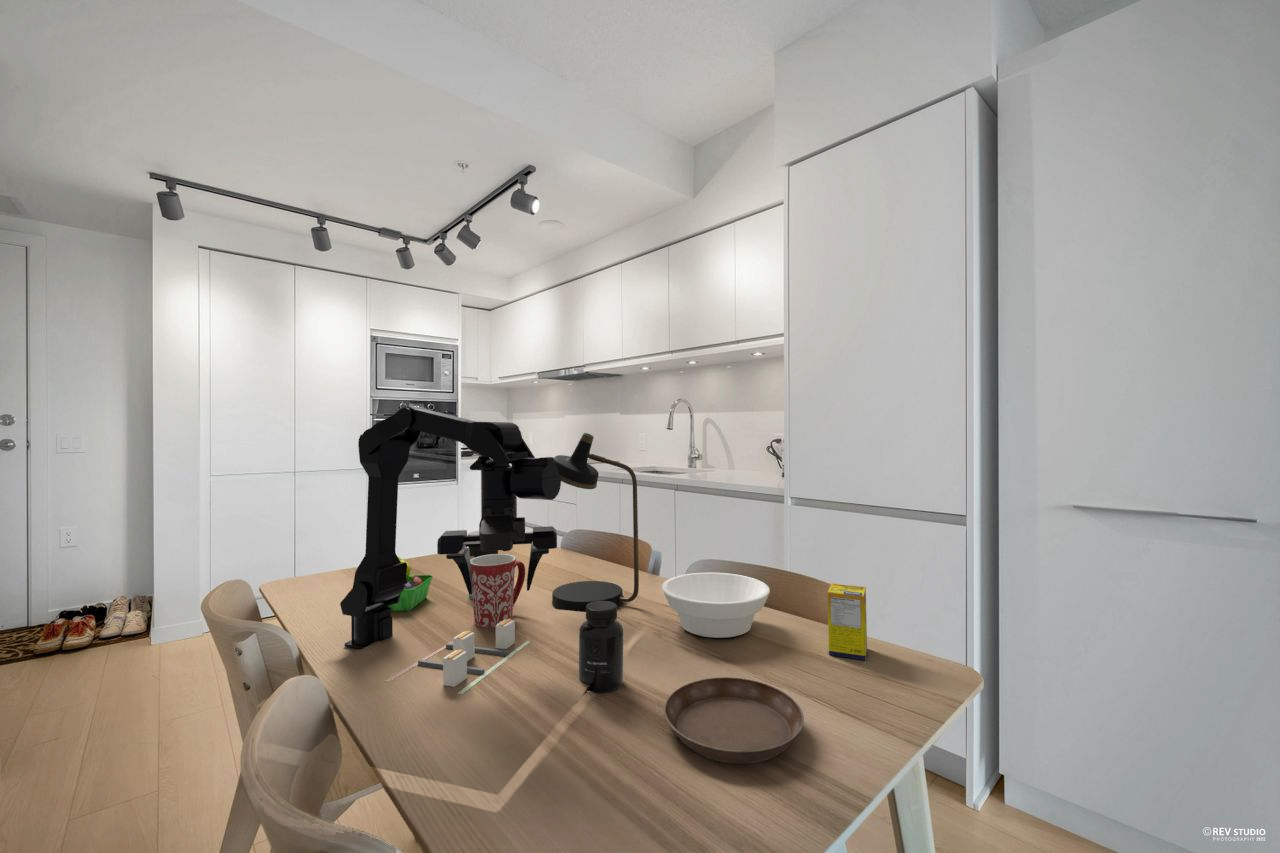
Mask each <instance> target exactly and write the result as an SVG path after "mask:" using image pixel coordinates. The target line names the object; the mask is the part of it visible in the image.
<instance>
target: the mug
mask: <svg viewBox="0 0 1280 853" xmlns="http://www.w3.org/2000/svg"><path fill="white" fill-rule="evenodd" d="M470 562H471V572H472V582H473V587H472V596H473V600H472V606H473V607H472V608H473V620H474V622H473V623H474V625H475V626H477V627H481V628H496V625H497V624H498V623H500V622H501V621H503V620H505V619H506V620H507V619H512V620H513V614H514V611H513V610H514V606H515V604H516V603H517V600H518V599H519V596H520V594H521V591H522V589H523V586H524V582H525V578H526V566H525V564H524V563H523V562H522V561H520V560H517V558H516V556H514V555H511V554H507V553H498V554H490V555H484V556H479V557H476V558H473V559H471V560H470ZM515 568H517V570H518V573H517V579H516V582H515V572H516V571H515Z"/></svg>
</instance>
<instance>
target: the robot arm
mask: <svg viewBox="0 0 1280 853" xmlns="http://www.w3.org/2000/svg"><path fill="white" fill-rule="evenodd" d="M423 433H425V434H428V435H432V436H435V437H436V436H437V437H438V438H439V437H440V438H443V439H448V440H452V441H455V442H459V443H461V444H463V445H464V446H465V447H466V448H467V449H468V450H470V451H471V452H473V453H475V454H477V455H479V456H478V457H477V459H476V460H475V461H474V462H473V463H472V464H471V465H470V466H469V470H471V471H480V489H481V490H480V491H481V492H480V499H481V500H480V506H481V507H480V508H481V510H480V514H481V516H480V517H481V518H480V522H479V524H478V525H479V526H478V527H479V528H478V531H479V535H468V531H467V529H462V530H445V531H444V532H443V533H442V534H441V535H440V537H439V538H438V539H437V545H436V547H437V549H436V550H437V551H436V552H437V555H441V556H442V555H445V557H446V559H447V560H453V562H454V563H455V564H456V565H457V568H458V569H459V571H460V573H461V576H462V578H463V582H464V583H465V587H466V589H467V592H468V595H469V594H472V587H473V582H472V572H471V562H470V552H469V547H475V546H480V547H481V551H483V552H490V551H497V550H498V551H502V552H509V551H511V550H513V549H514V545H529V544H530V551H529V561H528V566H527V568H528V569H527V576H526V577H527V578H526V591H527V592H529V591H530V590H531V586H532V583H533V579H534V576H535V573H536V570H537V567H538V564H539V562H540V561H541V559H542V557H543V555H548V554H549V553H550V549H551V550H552V549H553V550H554V549H557V548H558V534H557V529H556V528H555V527H554V526H552V525H549V526H533V527H532V532H531V531H529V532H526V517H524V516H523V517H522V516H521V517H518V511H517V510H518V509H517V508H518V502H517V499H518V498H519V499H522V500H524V499H525V500H541V501H543V500H544V501H553V500H555V499H556V498H557V497H558V495H559V493H560V490H561V484H562V481H561V476H560V475H559V471H558V469H557V467H556V466H555V465H554V457H553V456H546V457H536V456H534V454H533V452H532V451H531V449H530V448H529V446H528V445H527V442H525V440H524V439H523V435H522V432H521V430H520V426H518V425H517V424H515V423H514V422H509V421H508V422H507V421H503V422H502V421H476V420H471V419H467V418H462V417H460V416H459V417H458V416H455V415H451V414H447V413H443V412H439V411H434V410H432V409H431V410H430V409H428V408H427V407H424V406H422V407H421V406H404V407H402V408H400V409H398V411H396V412H395V413H394V414H392V415H391V416H388V417H387V418H385V419H383V420H380V421H379V422H377V423H375V424H373V426H371V427H370V428H367V429H366V430H364V432H363V433H362V434H360V435H359V438H358V444H357V445H358V456H359V463H360V465H361V466H362V468H363V470H364V472H365V473H366V475H367V478H368V481H367V482H368V484H367V506H366V509H367V510H366V531H365V532H366V536H365V553H364V557H363V558H362V560H361V562H360V563H359V565H358V566H357V568H356V569H355V573H354V577H353V584H352V588H351V589H350V590H349V592H348V593H346V595H345V596H344V598H342V600H341V602H340V603H339V604H340V609H341V613H342V615H343V616H349V617H351V622H350V623H351V624H350V625H351V626H350V627H351V632H350V634H351V636H350V637H351V638H350V639H351V640H348V641H346V642H344V647H347V648H354V649H362V650H363V649H365V648H367V647H369V646H371V645H373V644H375V643H377V642H383V641H385V640H387V639H390V638H391V637H392V636H393V627H394V626H393V625H394V624H393V616H392V610H391V607H388V606H391V605H393V604H397V603H398V602H399V599H400V595H401V592H403V590H404V586H405V584H407V579H406V572H407V563H408V562H407V561H406V562H407V563H406V562H401V561H400V560H399V558H398V557H399V556H398V555H397V553H396V547H397V546H396V543H397V541H396V540H397V521H398V520H397V518H398V497H399V496H398V493H399V476H400V475H401V474H402V472H403V470H404V469H405V466H406V465H407V463H408V461H409V456H410V455H409V454H410V450H411V448H412V447H413V446H414V445H415V444H417V443H418V442H419V441H420V439H421V437H422V434H423ZM397 556H398V557H397Z"/></svg>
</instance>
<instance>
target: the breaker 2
mask: <svg viewBox="0 0 1280 853" xmlns="http://www.w3.org/2000/svg"><path fill="white" fill-rule="evenodd" d="M515 643H516V620H513V618H512V619H507V620H506V619H505V620H503V621H501V622H500V623H498V624H497V625H496V627H495V649H497V650H505V651H507V649H509V648H510V647H511V646H512V645H515Z"/></svg>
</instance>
